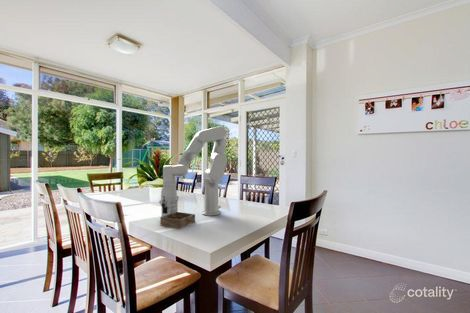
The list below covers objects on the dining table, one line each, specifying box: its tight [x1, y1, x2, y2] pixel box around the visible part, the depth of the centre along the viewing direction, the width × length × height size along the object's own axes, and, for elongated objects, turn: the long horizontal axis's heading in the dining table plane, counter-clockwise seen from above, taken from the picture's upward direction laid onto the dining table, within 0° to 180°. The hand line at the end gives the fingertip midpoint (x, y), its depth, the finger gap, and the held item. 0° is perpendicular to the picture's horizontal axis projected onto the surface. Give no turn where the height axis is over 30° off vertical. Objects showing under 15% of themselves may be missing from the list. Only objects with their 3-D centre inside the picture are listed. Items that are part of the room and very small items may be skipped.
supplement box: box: [161, 198, 179, 217], centre depth 142 cm, size 7×7×13 cm
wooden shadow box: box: [159, 211, 196, 229], centre depth 130 cm, size 14×14×4 cm
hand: (169, 211), depth 142 cm, fingers closed on supplement box, 7 cm apart
